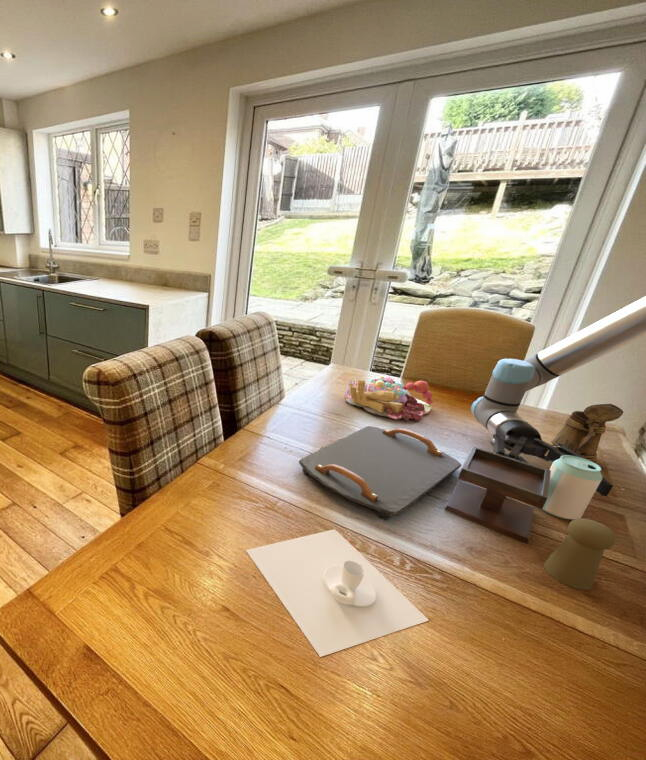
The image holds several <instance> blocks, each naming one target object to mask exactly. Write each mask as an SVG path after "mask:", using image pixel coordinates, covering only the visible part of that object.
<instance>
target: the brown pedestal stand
mask: <svg viewBox="0 0 646 760" xmlns="http://www.w3.org/2000/svg"><path fill="white" fill-rule="evenodd" d="M528 463H529V462H528ZM528 463H525V462H522V461H519V460H516V459H512V458H509V457H506V456H503V455H500V454H496V453H494V451H490V450H486V449H484V448H480V447H477V446H473V445H472V446H471V448H470V450H469V452H468V455H467V456H466V458H465V461H464V463H463V465H462V467H461V469H460V471H459V474H458V477H457V479H458V480H457V482H456V484H455V487H454V489H453V490H452V493H451V495H450V496H449V499H448V501H447V503H446V505H445V507H444V510H445V511H447V512H449V513H452V514H454V515H457V516H459V517H462V518H463V519H467V520H469V521H471V522H474V523H476V524H479V525H481V526H483V527H485V528H488V529H490V530H492V531H495V532H498V533H500V534H503V535H505V536H506V537H507V536H508V537H510V538H512V539H514V540H518V541H519V542H522V543H524V544H528V542H529V541H530V537H531V532H532V531H531V530H532V525H533V520H534V519H533V517H534V511H535V508H538V509H541V510H543V507H544V504H545V502H546V500H547V498H548V490H549V482H550V474H551V470H549V469H548V468H544V467H541V466H538V465H534V464H533V463H532V464H531V463H529V464H528Z"/></svg>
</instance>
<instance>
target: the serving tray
mask: <svg viewBox="0 0 646 760" xmlns="http://www.w3.org/2000/svg"><path fill="white" fill-rule="evenodd" d="M298 464H299V465H300V466H301V467H302V469H301V470H302V473H303V475H305V476H311V477H312V478H314V479H315V480H317V481H318V482H319V483H320V484H322V485H323V486H324V487H326V488H327V489H329V490H330V491H333V492H334V493H337V494H338V495H339V496H341V497H343V498H346V499H348V500H349V501H352V502H354V503H357V504H359V505H362V506H365V507H367V508H368V509H369V508H370V509H372V510H375V511H377V514H378V516H379V518H380V519H381V520H384V521H385V520H387V519H389V518H390V517H391V516H398V515H400V514H401V513H403V512H405V510H407V509H408V508H410V507H411V506H412V505H413V504H414V503H415V502H416V501H419V500H420V499H421V498H422V497H423V496H425V495H426V494H428V493H429V492H430V491H431V490H433V489H434V488H435V487H437V486H438V485H439V484H441V483H442V482H443V481H444V480H446V479H447V478H448V477H449V476H451V475H452V474H453V473H454V472H456V471H457V470H459V469H460V468H462V467H461V466H462V463H461V462H459V461H458V459H456V458H454V457H452V456H450V455H449V454H447V453H446V452H445V451H442V450H440V449H438V448H437V447H436V446H435V444H434V443H433V442H432V440H431V439H430V438H428V437H426V436H424V435H422V434H420V433H418V432H415V431H413V430H410V429H406V428H403V427H402V428H401V427H397V428H394V429H391V430H389V429H385V428H381V427H377V426H372V425H371V426H370V425H368V426H365V427H363V428H361V429H359V430H357V431H354V432H352V433H350V434H349V435H347V436H345V437H343V438H340V439H338V440H335V441H334V442H332V443H330V444H328V445H326V446H325V445H324V446H323V447H321V448H320V449H318V450H317V451H314V452H312V453H310V454H308V455H307V456H304V457H302V458H301V459H300V460H299V461H298Z"/></svg>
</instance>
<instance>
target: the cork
mask: <svg viewBox="0 0 646 760" xmlns="http://www.w3.org/2000/svg"><path fill="white" fill-rule="evenodd" d="M567 532H568V535H567V536H566V537H565V538H564V539H563V540H562V541H561V543H560V544H559V545H558V547H557V548H555V550H553V552H552V553H551V554H550V556H549V557H548V558H547V559H546V560H545V561H544V563H543V568H544V570H545V571H546V573H548V574H549V575H550V576H551V577H552V578H554V579H555V580H557V581H558V582H560V583H562V584H563V585H565V586H568V587H571V588H573V589H576V590H580V591H581V590H582V591H589V590H591V589H593V587H594V586H593V585H594V583H595V579H596V577H597V573H598V570H599V567H600V564H601V560H602V558H603V555H604V552H605V550H609V549H611V548H612V547H613V546H614V545H615V543H616V535H615V533H614V531H613V530H611V528H609V527H608V526H606V525H604V524H603V523H600V522H599V521H596V520H592V519H590V518H583V517H581V518H578V519H571V521H570V522H569V524H568V525H567Z"/></svg>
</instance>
